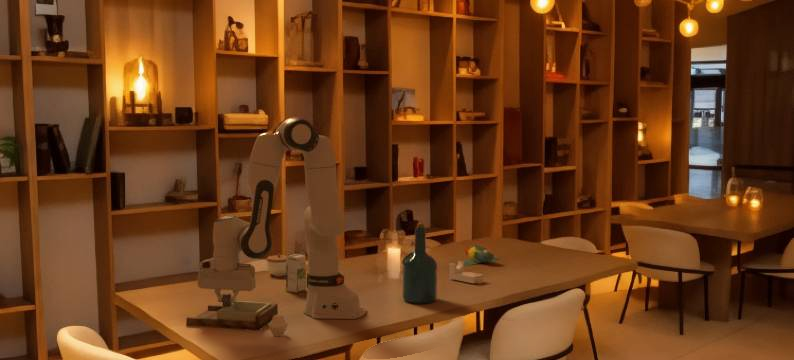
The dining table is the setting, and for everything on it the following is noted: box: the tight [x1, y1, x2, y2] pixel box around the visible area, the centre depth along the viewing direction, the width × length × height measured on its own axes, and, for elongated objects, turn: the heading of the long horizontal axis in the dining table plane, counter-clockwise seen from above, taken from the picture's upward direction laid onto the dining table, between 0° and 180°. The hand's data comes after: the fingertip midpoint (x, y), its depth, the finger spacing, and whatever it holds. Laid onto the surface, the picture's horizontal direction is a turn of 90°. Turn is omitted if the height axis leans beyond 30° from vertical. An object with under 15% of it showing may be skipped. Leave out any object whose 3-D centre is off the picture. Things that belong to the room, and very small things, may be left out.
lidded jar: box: [266, 253, 288, 277], centre depth 323 cm, size 11×11×9 cm
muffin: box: [267, 314, 288, 337], centre depth 235 cm, size 6×6×7 cm
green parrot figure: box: [454, 244, 502, 267], centre depth 352 cm, size 28×9×15 cm
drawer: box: [217, 292, 272, 322], centre depth 250 cm, size 15×14×8 cm
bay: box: [185, 303, 279, 331], centre depth 251 cm, size 26×17×4 cm, turn 78°
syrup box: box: [285, 253, 307, 294], centre depth 294 cm, size 6×6×14 cm
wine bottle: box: [401, 222, 438, 305], centre depth 280 cm, size 14×13×30 cm
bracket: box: [448, 260, 484, 285], centre depth 314 cm, size 13×7×8 cm, turn 47°
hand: (226, 302), depth 252 cm, fingers closed on drawer, 3 cm apart
